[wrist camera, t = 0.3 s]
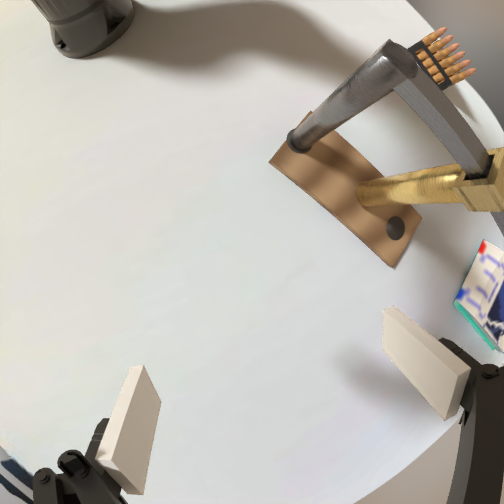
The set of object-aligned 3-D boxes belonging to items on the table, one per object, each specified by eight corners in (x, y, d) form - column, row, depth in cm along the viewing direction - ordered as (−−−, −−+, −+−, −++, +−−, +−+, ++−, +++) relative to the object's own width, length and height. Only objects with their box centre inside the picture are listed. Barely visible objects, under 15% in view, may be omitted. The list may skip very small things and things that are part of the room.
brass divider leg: (347, 197, 40) (492, 181, 15) (362, 175, 40) (503, 144, 15) (364, 213, 40) (510, 214, 15) (378, 191, 40) (521, 176, 15)
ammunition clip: (441, 90, 42) (480, 72, 31) (437, 93, 42) (477, 74, 31) (411, 47, 41) (445, 22, 29) (406, 49, 41) (441, 23, 29)
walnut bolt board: (266, 160, 40) (268, 158, 38) (305, 112, 40) (308, 108, 38) (387, 265, 44) (393, 267, 42) (416, 217, 44) (422, 217, 42)
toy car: (491, 353, 53) (513, 365, 44) (447, 303, 48) (477, 314, 39) (518, 299, 53) (540, 306, 44) (479, 234, 47) (509, 237, 39)
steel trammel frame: (285, 141, 38) (375, 55, 14) (297, 126, 38) (391, 35, 14) (403, 249, 42) (530, 274, 18) (412, 234, 42) (538, 250, 18)
